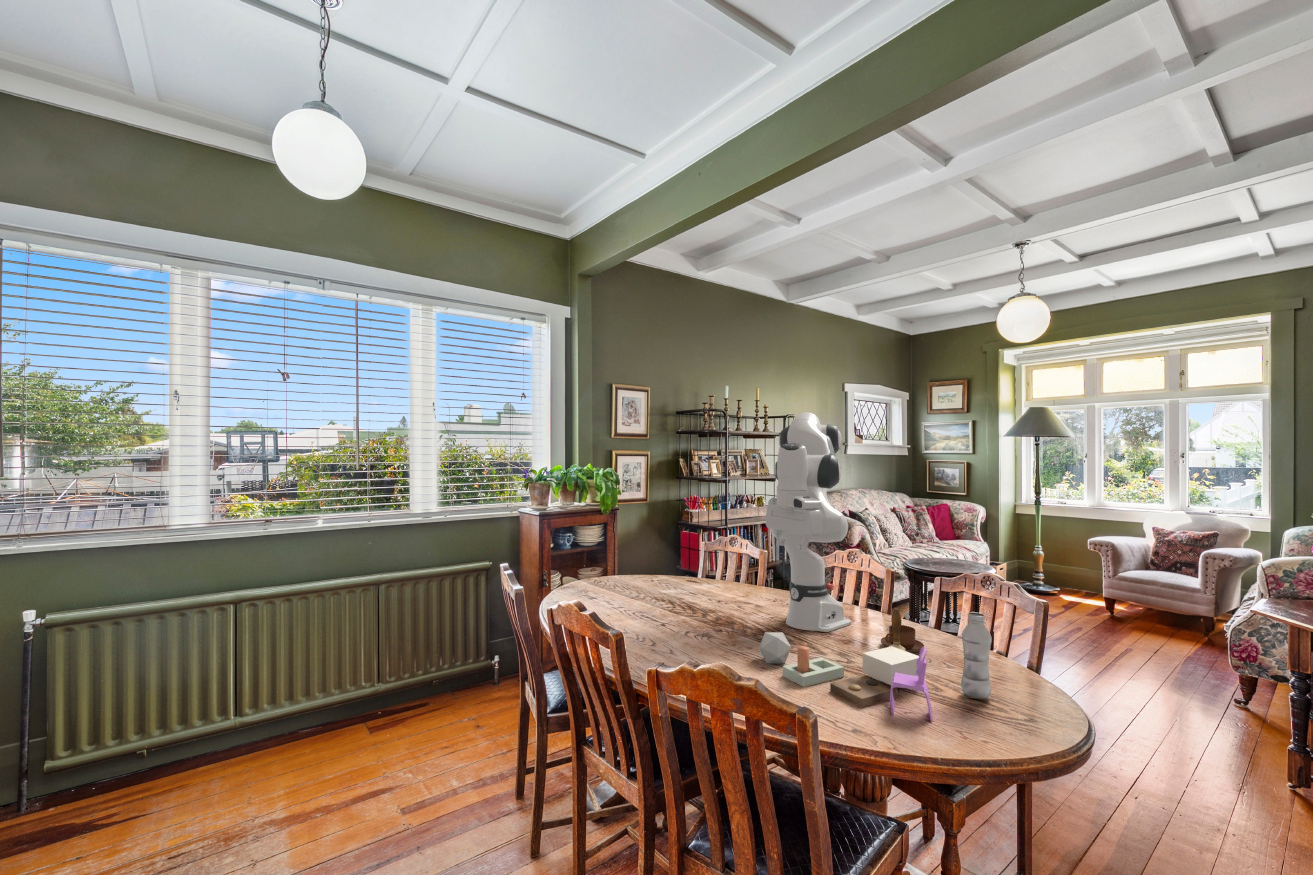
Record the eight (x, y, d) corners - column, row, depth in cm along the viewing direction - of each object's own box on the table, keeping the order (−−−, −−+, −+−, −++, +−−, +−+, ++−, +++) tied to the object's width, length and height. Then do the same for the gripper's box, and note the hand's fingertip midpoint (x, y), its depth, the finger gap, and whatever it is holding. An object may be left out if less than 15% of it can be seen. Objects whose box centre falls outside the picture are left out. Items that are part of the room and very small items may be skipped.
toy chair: (891, 701, 139) (892, 638, 139) (932, 709, 136) (932, 644, 136) (889, 716, 132) (889, 649, 132) (932, 724, 128) (932, 655, 128)
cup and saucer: (912, 659, 167) (912, 637, 167) (873, 648, 176) (873, 627, 176) (931, 650, 175) (931, 629, 175) (892, 639, 184) (893, 620, 184)
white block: (891, 665, 155) (892, 646, 155) (921, 677, 147) (921, 657, 147) (862, 672, 149) (862, 653, 150) (892, 685, 142) (892, 664, 142)
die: (783, 672, 158) (799, 640, 161) (755, 654, 160) (772, 623, 163) (777, 672, 166) (792, 641, 169) (750, 655, 168) (766, 625, 171)
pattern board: (864, 682, 151) (864, 672, 151) (897, 697, 142) (897, 687, 142) (830, 691, 145) (830, 681, 145) (862, 707, 136) (862, 697, 136)
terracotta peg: (803, 675, 154) (803, 645, 155) (811, 679, 152) (811, 648, 152) (794, 677, 153) (795, 647, 153) (802, 682, 150) (803, 650, 150)
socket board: (821, 666, 161) (821, 657, 161) (844, 676, 154) (844, 667, 154) (782, 675, 154) (782, 666, 154) (803, 687, 147) (803, 677, 147)
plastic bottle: (954, 694, 144) (954, 612, 144) (974, 689, 146) (974, 609, 147) (978, 705, 138) (978, 619, 138) (998, 700, 140) (998, 616, 141)
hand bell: (875, 667, 161) (876, 609, 161) (887, 659, 167) (887, 603, 167) (906, 675, 155) (907, 615, 155) (917, 667, 161) (918, 609, 161)
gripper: (760, 497, 177) (760, 543, 177) (808, 503, 159) (808, 554, 159) (776, 496, 180) (776, 541, 180) (825, 502, 162) (825, 552, 162)
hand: (792, 547), depth 169 cm, fingers open, 8 cm apart
